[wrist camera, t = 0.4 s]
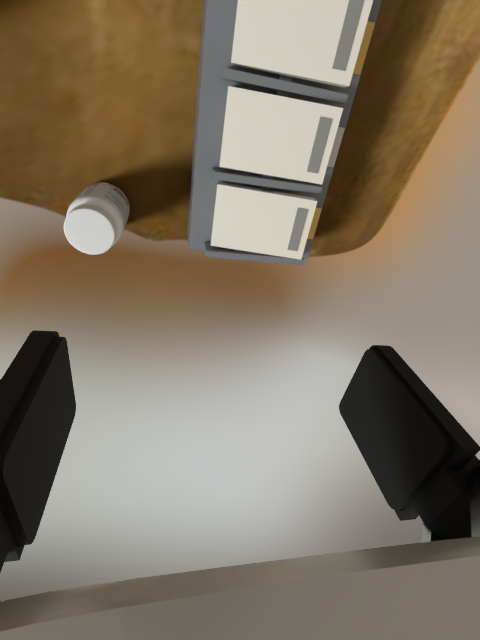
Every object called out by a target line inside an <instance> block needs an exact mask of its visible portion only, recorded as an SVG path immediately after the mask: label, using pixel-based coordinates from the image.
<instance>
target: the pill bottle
mask: <svg viewBox="0 0 480 640" xmlns="http://www.w3.org/2000/svg"><path fill="white" fill-rule="evenodd" d="M129 213H130V206H129V202H128V199H127V197H126V196H125V194H124V193H123V192H122V191H121V190H120V189H119V188H117V187H116V186H114V185H112V184H109V183H104V182H99V183H94V184H92V185H90V186H88V187H87V188H86V189H85V190H84V191H83V192H82V193H81V194H80V195H79V196H78V197H77V198H76V199H75V200H74V201H73V202H72V203H71V205H70V206H69V208H68V211H67V215H66V219H65V222H64V233H65V236H66V238H67V240H68V241H69V242H70V244H71V245H73V247H75V248H76V249H78V250H79V251H81V252H83V253H87V254H93V255H95V254H101V253H104V252H106V251H107V250H108V249H110V247H111V246H112V245H114V244H115V243H116V242H117V241H118V240H119V238H120V237H121V235H122V232H123V230H124V227H125V225H126V222H127V220H128V217H129Z"/></svg>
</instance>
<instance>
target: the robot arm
mask: <svg viewBox="0 0 480 640" xmlns="http://www.w3.org/2000/svg"><path fill="white" fill-rule="evenodd" d="M339 410H340V413H341V415H342V417H343V419H344V421H345V423H346V425H347V427H348V429H349V431H350V433H351V434H352V437H353V438H354V440H355V442H356V444H357V446H358V448H359V450H360V452H361V454H362V456H363V457H364V459H365V461H366V463H367V465H368V467H369V469H370V471H371V473H372V474H373V476H374V478H375V480H376V482H377V484H378V486H379V488H380V490H381V492H382V493H383V495H384V497H385V499H386V501H387V503H388V505H389V506H390V507H391V508H392V509H394V510H395V512H396V514H397V516H398V518H399V519H400V520H411V519H416V518H417V517H418V516H420V517H421V519H422V521H423V527H422V541H421V543H415V544H406V545H398V546H390V547H381V548H373V549H365V550H357V551H348V552H340V553H332V554H325V555H316V556H309V557H300V558H292V559H285V560H276V561H269V562H261V563H252V564H245V565H237V566H229V567H221V568H214V569H207V570H198V571H191V572H183V573H175V574H168V575H160V576H153V577H145V578H137V579H131V580H124V581H117V582H110V583H104V584H97V585H90V586H83V587H77V588H70V589H63V590H56V591H51V592H46V593H41V594H36V595H31V596H26V597H21V598H16V599H11V600H6V601H3V602H1V600H0V640H480V460H478V458H477V457H476V456H475V455H476V454H477V452H478V451H479V450H480V447H479V445H478V444H477V443H476V442H475V441H474V440H473V439H472V437H471V436H470V435H469V434H468V433H467V432H466V431H465V429H463V427H462V426H461V425H460V424H459V423H458V422H457V421H456V419H455V418H454V417H453V416H452V415H451V414H450V412H448V410H447V409H446V408H445V407H444V406H443V405H442V403H441V402H440V401H439V400H438V399H437V398H436V397H435V395H434V394H433V393H432V392H431V391H430V390H429V389H428V387H426V385H425V384H424V383H423V382H422V381H421V380H420V378H419V377H418V376H417V375H416V374H415V373H414V372H413V370H412V369H411V368H410V367H409V366H408V365H407V364H406V362H405V361H404V360H403V359H402V358H401V357H400V356H399V355H398V353H397V352H396V351H395V350H394V349H393V348H392V347H391V346H381V345H374V346H371V347H370V349H368V350H367V351H366V352H365V353H364V355H363V357H362V359H361V361H360V363H359V365H358V367H357V369H356V372H355V374H354V375H353V378H352V379H351V382H350V384H349V386H348V388H347V390H346V392H345V394H344V396H343V398H342V400H341V402H340V405H339ZM75 411H76V402H75V396H74V390H73V382H72V375H71V368H70V361H69V354H68V347H67V341H66V338H65V337H59V334H58V332H56V331H32V332H31V333H30V335H29V336H28V338H27V339H26V341H25V343H24V344H23V346H22V347H21V349H20V350H19V352H18V354H17V355H16V357H15V358H14V360H13V361H12V363H11V365H10V366H9V368H8V369H7V371H6V373H5V374H4V376H3V377H2V379H1V380H0V572H1V569H2V566H3V563H4V562H7V561H16V560H20V557H21V554H22V551H23V548H24V545H27V544H28V545H29V544H32V542H33V541H34V539H35V536H36V533H37V530H38V527H39V524H40V521H41V518H42V515H43V512H44V509H45V506H46V503H47V500H48V497H49V494H50V491H51V487H52V484H53V481H54V478H55V475H56V472H57V469H58V466H59V463H60V460H61V457H62V453H63V450H64V447H65V444H66V441H67V438H68V435H69V432H70V429H71V426H72V423H73V420H74V416H75Z"/></svg>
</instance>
